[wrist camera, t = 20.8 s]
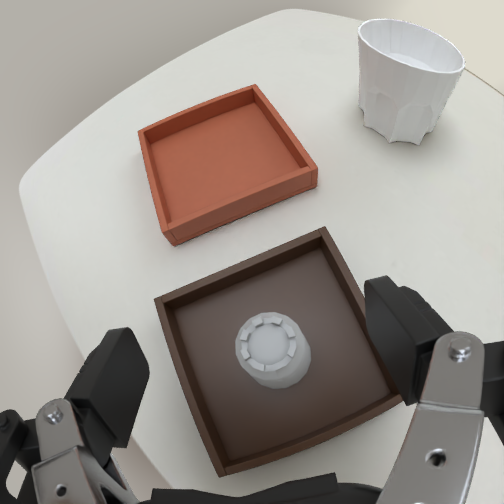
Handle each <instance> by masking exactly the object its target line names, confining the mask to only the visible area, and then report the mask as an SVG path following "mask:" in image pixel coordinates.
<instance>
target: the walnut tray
mask: <svg viewBox="0 0 504 504" xmlns="http://www.w3.org/2000/svg"><path fill="white" fill-rule="evenodd" d="M154 302H155V305H156V309H157V312H158V316H159V319H160V322H161V326H162V329H163V332H164V336H165V339H166V342H167V345H168V348H169V351H170V354H171V358H172V361H173V364H174V366H175V369H176V372H177V375H178V378H179V381H180V384H181V387H182V389H183V392H184V395H185V398H186V400H187V403H188V406H189V408H190V411H191V413H192V416H193V419H194V421H195V424H196V426H197V429H198V431H199V433H200V436H201V438H202V441H203V443H204V445H205V448H206V450H207V453H208V455H209V457H210V459H211V462H212V464H213V466H214V468H215V471H216V473H217V475H218V477H223V476H227V475H230V474H234V473H238V472H241V471H245V470H248V469H251V468H254V467H258V466H261V465H264V464H267V463H270V462H273V461H276V460H278V459H281V458H284V457H287V456H289V455H292V454H295V453H297V452H300V451H303V450H305V449H308V448H310V447H312V446H315V445H317V444H320V443H322V442H324V441H327V440H329V439H331V438H333V437H335V436H338V435H340V434H342V433H344V432H346V431H348V430H350V429H352V428H355V427H357V426H359V425H361V424H363V423H365V422H366V421H368V420H370V419H372V418H374V417H376V416H378V415H380V414H382V413H383V412H385V411H387V410H389V409H391V408H392V407H394V406H396V405H398V404H399V403H401V402H402V401H404V400H403V398H402V396H401V394H400V392H399V390H398V389H397V387H396V385H395V383H394V381H393V379H392V377H391V375H390V373H389V372H388V370H387V368H386V366H385V364H384V362H383V360H382V359H381V357H380V355H379V353H378V351H377V350H376V348H375V346H374V344H373V342H372V341H371V339H370V337H369V334H368V331H367V326H366V315H365V298H364V296H363V294H362V292H361V291H360V289H359V287H358V285H357V283H356V281H355V279H354V277H353V275H352V274H351V272H350V270H349V268H348V266H347V264H346V262H345V261H344V259H343V257H342V255H341V253H340V252H339V250H338V248H337V246H336V244H335V243H334V241H333V239H332V237H331V235H330V234H329V232H328V230H327V229H326V227H325V226H324V227H322V228H320V229H318V230H315V231H313V232H310V233H308V234H306V235H303V236H301V237H299V238H296V239H294V240H292V241H289V242H287V243H285V244H282V245H280V246H278V247H275V248H273V249H271V250H268V251H266V252H264V253H261V254H259V255H257V256H254V257H252V258H249V259H247V260H245V261H242V262H240V263H238V264H235V265H233V266H231V267H228V268H226V269H224V270H221V271H219V272H217V273H214V274H212V275H209V276H207V277H205V278H202V279H200V280H198V281H195V282H193V283H191V284H188V285H186V286H183V287H181V288H179V289H176V290H174V291H172V292H169V293H167V294H165V295H162V296H160V297H157V298H155V299H154ZM269 312H276V313H279V314H282V315H286V316H288V317H289V318H290V319H292V320H293V321H294V322H295V323H296V324H298V326H299V328H300V330H301V332H302V334H303V335H304V336H305V338H306V340H307V342H308V344H309V346H310V351H311V362H310V365H309V368H308V371H307V373H306V374H305V375H304V376H303V377H302V378H301V380H300V381H299V382H298V383H296V384H293V385H291V386H289V387H287V388H278V389H272V388H269V387H266V386H263V385H260V384H259V383H258V382H257V381H256V380H255V379H254V378H253V377H251V376H250V374H249V373H248V372H247V371H246V370H245V369H244V368H243V367H242V366H241V365H240V362H239V360H238V358H237V356H236V344H235V341H236V338H237V335H238V333H239V330H240V328H241V327H242V326H243V325H244V324H245V323H246V322H247V321H248V320H249V319H250V318H252V317H254V316H256V315H258V314H260V313H269Z"/></svg>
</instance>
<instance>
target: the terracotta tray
mask: <svg viewBox="0 0 504 504" xmlns="http://www.w3.org/2000/svg"><path fill="white" fill-rule="evenodd" d="M138 136H139V141H140V145H141V150H142V154H143V159H144V163H145V168H146V172H147V176H148V180H149V184H150V189H151V193H152V197H153V201H154V204H155V208H156V212H157V216H158V220H159V223H160V227H161V231H162V233H163V234H164V236H165V237H166V238H167V239H168V240H169V242H170V243H171V244H172V245H173V246H176V245H178V244H181V243H183V242H185V241H187V240H190V239H192V238H194V237H196V236H199V235H201V234H203V233H206V232H208V231H210V230H213V229H215V228H217V227H220V226H222V225H224V224H227V223H229V222H231V221H234V220H236V219H239V218H241V217H243V216H246V215H248V214H250V213H253V212H255V211H258V210H260V209H263V208H265V207H267V206H270V205H272V204H275V203H277V202H280V201H282V200H285V199H287V198H289V197H292V196H294V195H297V194H299V193H302V192H304V191H307V190H309V189H312V188H315V187H317V178H318V167H317V166H316V164H315V163H314V162H313V160H312V159H311V157H310V156H309V154H308V153H307V151H306V150H305V149H304V147H303V146H302V144H301V143H300V142H299V140H298V139H297V137H296V136H295V135H294V133H293V132H292V131H291V129H290V128H289V127H288V125H287V124H286V122H285V121H284V120H283V118H282V117H281V116H280V115H279V113H278V112H277V111H276V109H275V108H274V107H273V105H272V104H271V103H270V102H269V100H268V99H267V98H266V96H265V95H264V94H263V93H262V91H261V90H260V89H259V88H258V86H257V85H256V84H254V85H251V86H248V87H245V88H242V89H239V90H236V91H233V92H230V93H227V94H224V95H222V96H219V97H216V98H214V99H211V100H208V101H206V102H203V103H201V104H198V105H196V106H193V107H191V108H188V109H186V110H183V111H181V112H179V113H176V114H174V115H172V116H169V117H167V118H165V119H163V120H160V121H158V122H156V123H154V124H152V125H149V126H147V127H145V128H143V129H141V130H139V131H138Z"/></svg>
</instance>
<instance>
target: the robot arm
mask: <svg viewBox="0 0 504 504" xmlns="http://www.w3.org/2000/svg"><path fill="white" fill-rule="evenodd" d="M364 294H365V315H366V326H367V331H368V334H369V337H370V339H371V341H372V342H373V344H374V346H375V348H376V350H377V351H378V353H379V355H380V357H381V359H382V360H383V362H384V364H385V366H386V368H387V370H388V372H389V373H390V375H391V377H392V379H393V381H394V383H395V385H396V387H397V389H398V390H399V392H400V394H401V396H402V398H403V400H404V402H405V404H406V406H409V405H412V404H414V403H417V402H418V403H417V406H416V409H415V412H414V415H413V418H412V420H411V423H410V426H409V429H408V432H407V434H406V437H405V439H404V442H403V445H402V447H401V450H400V452H399V455H398V457H397V459H396V462H395V464H394V466H393V469H392V471H391V473H390V475H389V477H388V480H387V482H386V484H385V486H384V488H383V489H381V488H378V487H374V486H370V485H365V484H358V483H337V478H336V474H335V472H334V473H329V474H325V475H320V476H316V477H311V478H306V479H300V480H294V481H288V482H285V483H283V484H280V485H277V486H274V487H271V488H268V489H266V490H263V491H259V492H256V493H253V494H250V495H247V496H243V497H230V496H224V495H218V494H213V493H208V492H203V491H198V490H193V489H155V488H153V490H152V495H151V500H147V501H143V502H139V500H138V499H137V498H136V497H135V495H134V494H133V491H132V490H131V488H130V486H129V484H128V482H127V480H126V479H125V477H124V475H123V473H122V471H121V469H120V467H119V465H118V463H117V461H116V459H115V457H114V456H113V455H112V454H111V450H112V447H117V448H127V445H128V441H129V438H130V435H131V432H132V429H133V425H134V422H135V419H136V416H137V413H138V410H139V407H140V403H141V400H142V397H143V394H144V391H145V388H146V385H147V382H148V379H149V374H150V372H149V365H148V362H147V360H146V358H145V356H144V354H143V352H142V350H141V348H140V346H139V344H138V341H137V339H136V337H135V335H134V333H133V331H132V330H131V329H130V328H128V327H125V328H119V329H111V330H108V332H107V333H106V335H105V336H104V338H103V340H102V341H101V343H100V345H98V346H97V347H96V348H95V349H94V350H93V351H92V352H91V353H90V354H89V356H88V357H87V359H86V361H85V362H84V365H83V366H82V367H81V369H80V371H79V372H80V373H78V374H77V376H76V378H75V379H74V381H73V383H72V385H71V386H70V388H69V390H68V392H67V393H66V395H65V397H64V399H62V398H59V399H54V400H52V401H50V402H48V403H46V404H45V405H44V406H43V407H42V408H41V409H40V410H39V412H38V414H37V416H36V418H35V419H30V420H25V421H24V420H23V419H22V418H21V417H20V416H19V414H18V413H17V412H16V411H15V410H6V411H3V412H1V413H0V504H465V502H466V499H467V496H468V492H469V489H470V485H471V481H472V477H473V473H474V469H475V465H476V461H477V456H478V451H479V446H480V441H481V435H482V429H483V422H484V417H488V418H489V420H490V422H491V423H492V425H493V427H494V429H495V431H496V432H497V434H498V436H499V438H500V440H501V442H502V444H503V445H504V341H500V342H494V343H487V344H483V343H482V341H481V340H480V339H479V338H478V337H476V336H475V335H473V334H470V333H467V332H460V331H457V332H454V331H453V330H452V329H451V328H450V327H449V325H448V324H447V323H446V322H445V321H444V320H443V319H442V318H441V317H440V316H439V315H438V313H437V312H436V311H435V310H434V309H432V308H431V306H430V305H429V304H428V303H427V302H425V300H424V299H423V298H422V297H421V296H420V294H419V293H418V292H417V291H414V290H412V289H410V288H408V287H406V286H402V287H398V286H397V285H396V284H395V283H394V282H393V281H392V280H391V279H390V278H389V277H388V276H387V275H386V276H382V277H378V278H374V279H370V280H366V281H365V283H364ZM15 460H16V461H17V462H18V463H19V464H20V465H21V466H22V467H23V468H24V469H25V470H26V471H27V474H26V476H25V479H24V481H23V484H22V487H21V489H20V492H19V495H18V498H17V499H16V498H15V497H13V496H12V495H11V494H10V493H9V492H8V490H7V487H6V479H7V477H8V474H9V472H10V470H11V467H12V465H13V463H14V461H15Z"/></svg>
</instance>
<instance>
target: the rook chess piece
mask: <svg viewBox="0 0 504 504" xmlns="http://www.w3.org/2000/svg"><path fill="white" fill-rule="evenodd" d="M235 344H236V356H237V358H238V360H239V362H240V365H241V366H242V367H243V368H244V369H245V370H246V371H247V372H248V373H249V374H250V376H251V377H253V378H254V379H255V380H256V381H257V382H258V383H259V384H260V385H263V386H266V387H269V388H272V389H278V388H287V387H289V386H291V385H293V384H296V383H298V382H299V381H300V380H301V378H302V377H303V376H304V375H305V374H306V373H307V371H308V368H309V365H310V362H311V351H310V346H309V344H308V342H307V340H306V338H305V336H304V335H303V334H302V332H301V330H300V328H299V326H298V324H296V323H295V322H294V321H293V320H292V319H290V318H289V317H288V316H286V315H282V314H279V313H276V312H269V313H260V314H258V315H256V316H254V317H252V318H250V319H249V320H248V321H247V322H246V323H245V324H244V325H243V326H242V327H241V328H240V330H239V333H238V335H237V338H236V341H235Z"/></svg>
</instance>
